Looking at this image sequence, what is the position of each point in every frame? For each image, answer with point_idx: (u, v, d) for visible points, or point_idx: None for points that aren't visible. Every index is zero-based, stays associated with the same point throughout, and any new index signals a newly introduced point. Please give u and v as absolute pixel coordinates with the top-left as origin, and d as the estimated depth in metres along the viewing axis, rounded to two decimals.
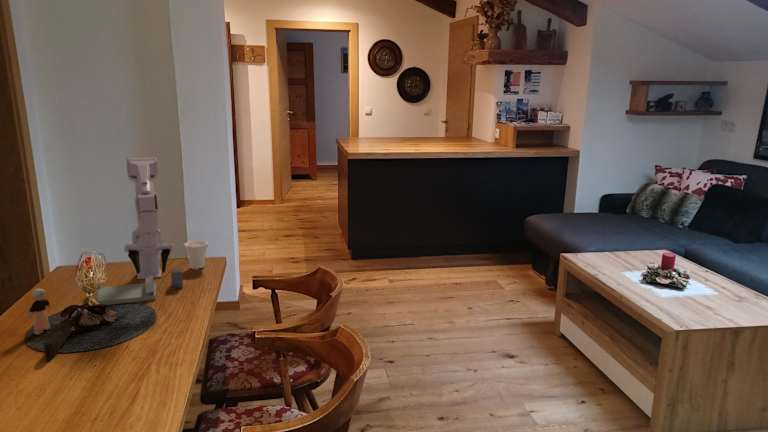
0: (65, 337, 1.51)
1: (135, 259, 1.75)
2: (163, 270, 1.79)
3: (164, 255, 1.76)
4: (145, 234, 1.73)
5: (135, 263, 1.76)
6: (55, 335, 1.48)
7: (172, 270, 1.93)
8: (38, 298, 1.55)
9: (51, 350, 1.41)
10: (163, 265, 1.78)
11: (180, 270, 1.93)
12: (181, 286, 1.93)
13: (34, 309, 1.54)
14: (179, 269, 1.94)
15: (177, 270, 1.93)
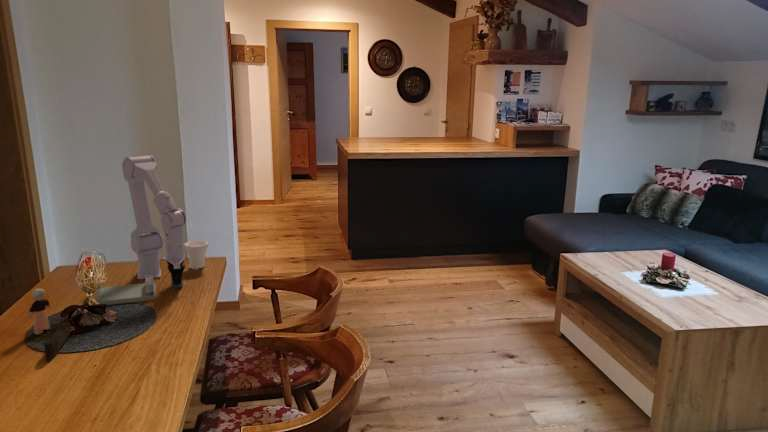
0: (65, 337, 1.51)
1: None
2: (173, 282, 1.91)
3: (168, 268, 1.89)
4: (166, 245, 1.90)
5: None
6: (55, 335, 1.48)
7: None
8: (38, 298, 1.55)
9: (51, 350, 1.41)
10: (172, 278, 1.91)
11: None
12: (181, 286, 1.93)
13: (34, 309, 1.54)
14: None
15: None
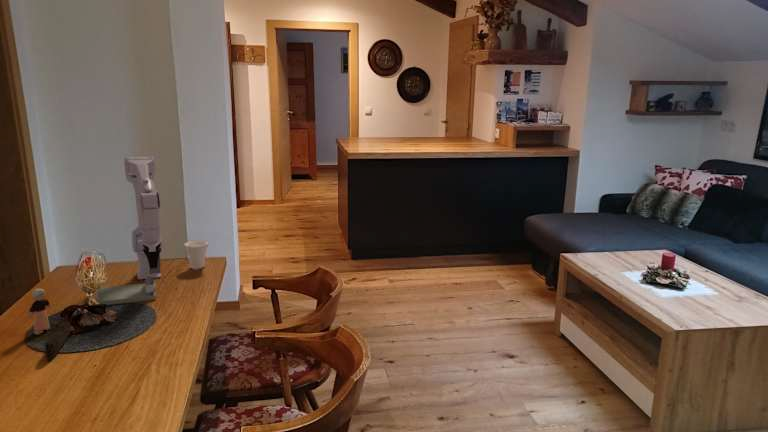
0: (65, 337, 1.51)
1: None
2: None
3: (144, 251, 1.84)
4: None
5: None
6: (55, 335, 1.48)
7: None
8: (38, 298, 1.55)
9: (52, 350, 1.41)
10: (148, 261, 1.86)
11: None
12: (159, 271, 1.89)
13: (34, 309, 1.54)
14: None
15: None
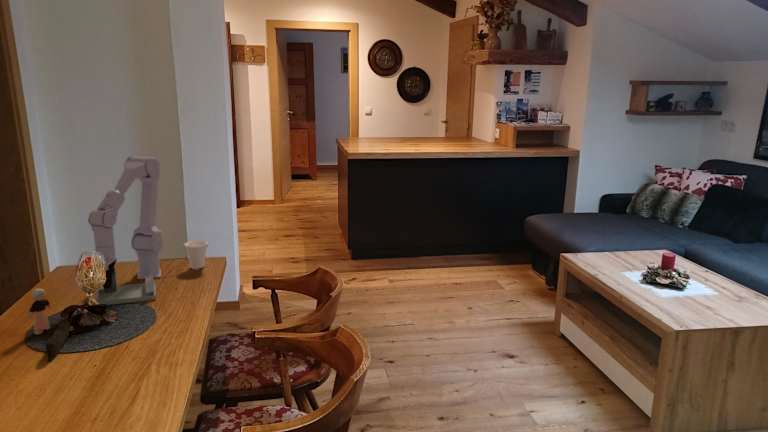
0: (65, 337, 1.51)
1: None
2: (103, 286, 1.80)
3: None
4: None
5: None
6: (55, 335, 1.48)
7: None
8: (38, 298, 1.55)
9: (53, 350, 1.41)
10: None
11: (114, 272, 1.84)
12: (115, 289, 1.84)
13: (34, 309, 1.54)
14: None
15: None
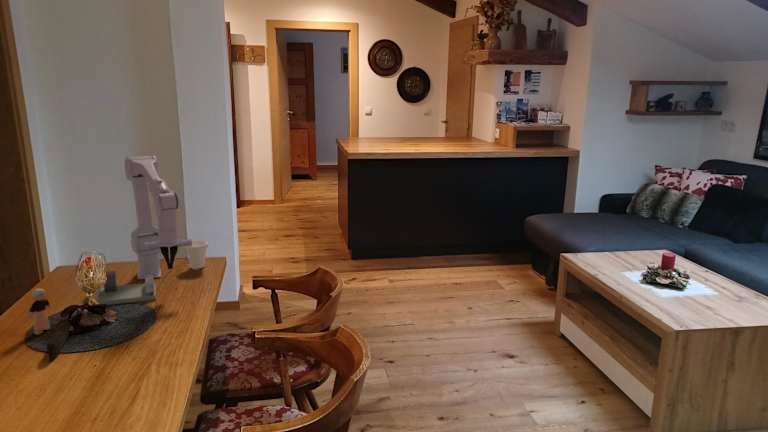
0: (65, 337, 1.51)
1: (167, 255, 1.82)
2: (171, 266, 1.84)
3: (173, 251, 1.82)
4: (166, 231, 1.79)
5: (167, 259, 1.83)
6: (56, 335, 1.48)
7: None
8: (38, 298, 1.55)
9: (54, 350, 1.42)
10: (171, 261, 1.83)
11: (114, 272, 1.84)
12: (115, 289, 1.84)
13: (34, 309, 1.54)
14: (113, 271, 1.85)
15: (110, 272, 1.84)
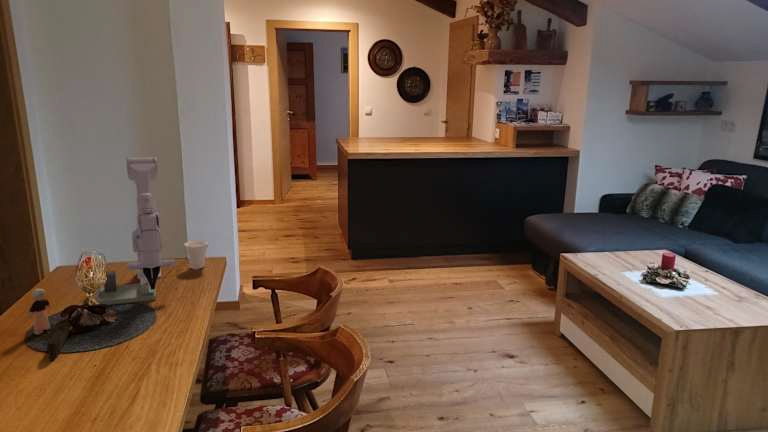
0: (65, 337, 1.51)
1: (150, 276, 1.81)
2: (154, 287, 1.83)
3: (155, 272, 1.81)
4: (148, 252, 1.79)
5: (150, 280, 1.82)
6: (55, 335, 1.48)
7: None
8: (38, 298, 1.55)
9: (55, 350, 1.42)
10: (154, 282, 1.83)
11: (114, 272, 1.84)
12: (115, 289, 1.84)
13: (34, 309, 1.54)
14: (113, 271, 1.85)
15: (110, 272, 1.84)
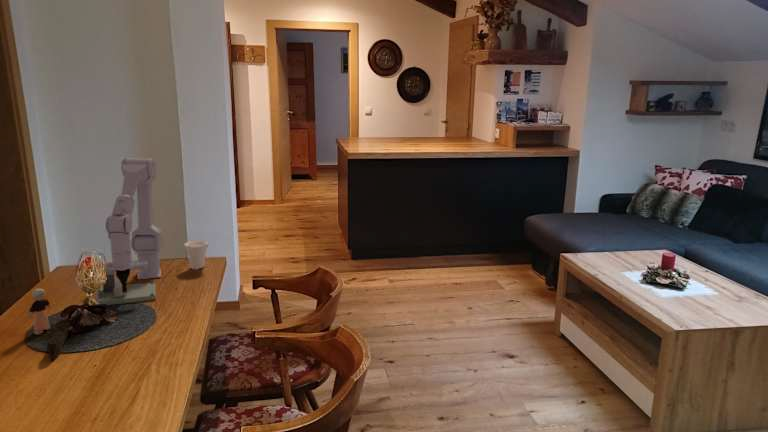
0: (65, 337, 1.51)
1: (123, 278, 1.78)
2: (123, 290, 1.80)
3: (125, 275, 1.78)
4: (119, 254, 1.76)
5: (123, 282, 1.79)
6: (55, 335, 1.48)
7: None
8: (38, 298, 1.55)
9: (55, 350, 1.42)
10: (124, 285, 1.79)
11: (112, 273, 1.84)
12: (113, 289, 1.84)
13: (34, 309, 1.54)
14: (112, 272, 1.85)
15: (109, 273, 1.84)
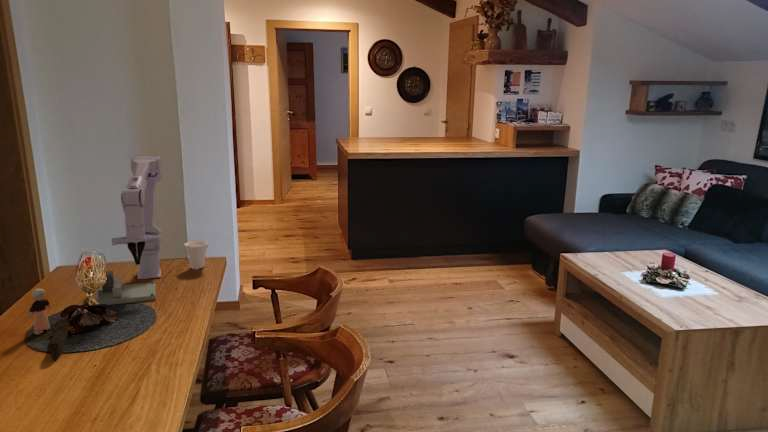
0: (65, 337, 1.51)
1: (134, 251, 1.83)
2: (139, 262, 1.86)
3: (140, 247, 1.83)
4: (133, 227, 1.81)
5: (134, 254, 1.84)
6: (56, 335, 1.48)
7: None
8: (38, 298, 1.55)
9: (58, 349, 1.42)
10: (139, 257, 1.85)
11: (111, 273, 1.84)
12: None
13: (34, 309, 1.54)
14: (111, 272, 1.85)
15: (108, 273, 1.84)
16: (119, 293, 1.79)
